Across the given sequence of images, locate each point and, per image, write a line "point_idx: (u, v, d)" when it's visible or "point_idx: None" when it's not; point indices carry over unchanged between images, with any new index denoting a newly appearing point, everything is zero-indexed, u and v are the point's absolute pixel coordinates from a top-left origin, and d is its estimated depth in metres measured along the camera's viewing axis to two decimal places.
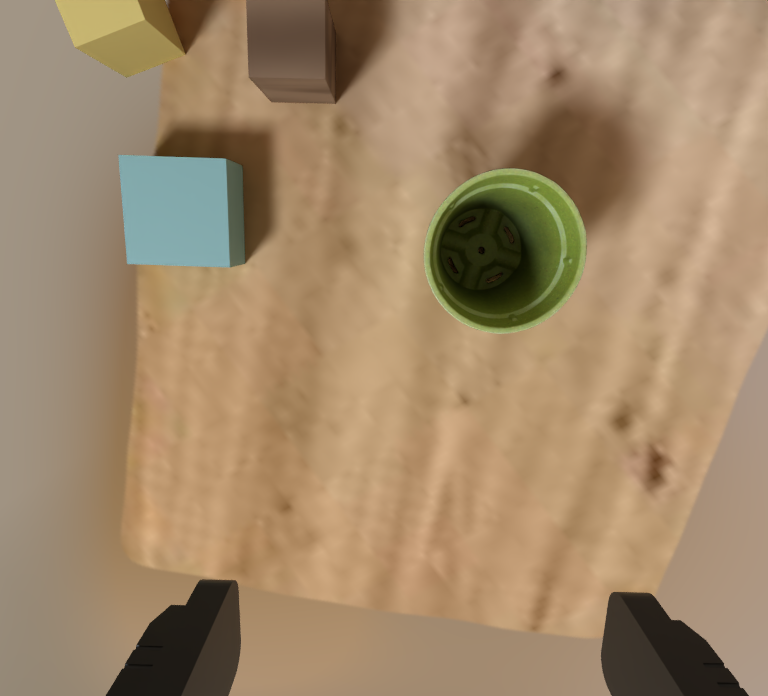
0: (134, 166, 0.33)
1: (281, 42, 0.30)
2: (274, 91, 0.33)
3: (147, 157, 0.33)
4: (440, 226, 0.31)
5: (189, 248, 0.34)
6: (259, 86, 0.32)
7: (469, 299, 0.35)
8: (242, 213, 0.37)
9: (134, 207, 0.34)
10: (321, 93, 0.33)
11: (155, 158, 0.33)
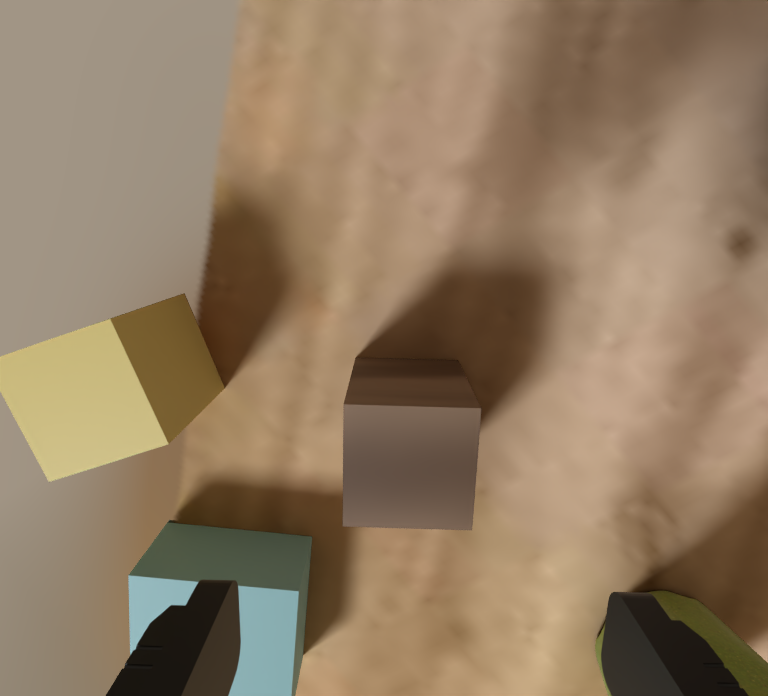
0: (152, 591, 0.21)
1: (400, 479, 0.17)
2: None
3: (174, 581, 0.21)
4: None
5: None
6: None
7: None
8: (306, 598, 0.25)
9: None
10: None
11: (187, 583, 0.21)
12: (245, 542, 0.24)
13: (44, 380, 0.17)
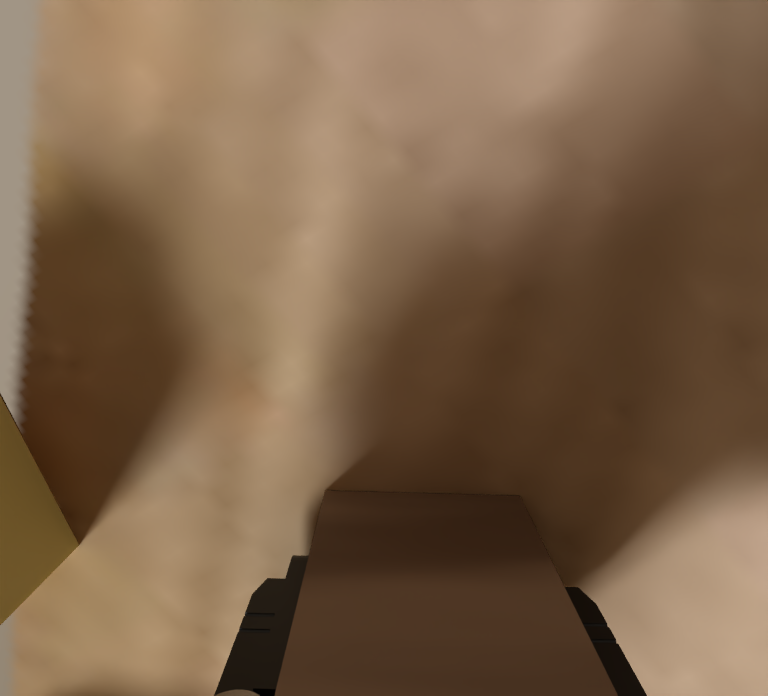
0: None
1: None
2: None
3: None
4: None
5: None
6: None
7: None
8: None
9: None
10: None
11: None
12: None
13: None
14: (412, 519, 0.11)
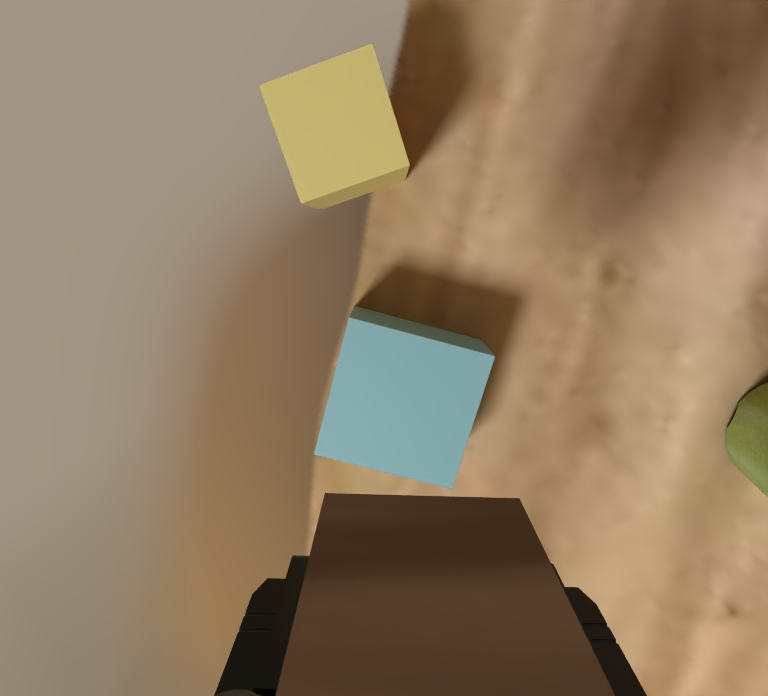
0: (366, 337, 0.24)
1: None
2: None
3: (388, 330, 0.23)
4: None
5: (405, 454, 0.25)
6: None
7: None
8: None
9: (347, 387, 0.24)
10: None
11: (398, 333, 0.23)
12: (429, 328, 0.26)
13: (308, 103, 0.19)
14: (412, 522, 0.11)
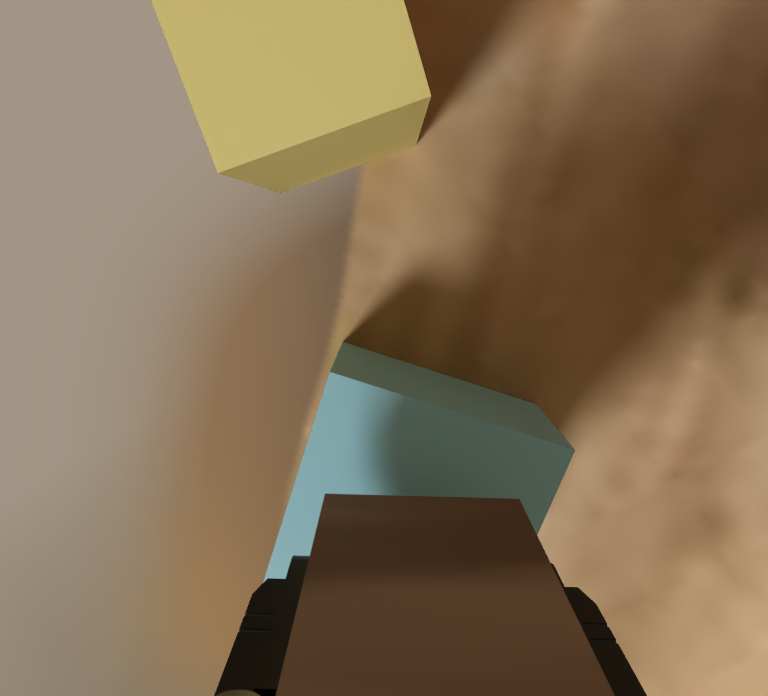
0: (357, 406, 0.14)
1: None
2: None
3: (396, 396, 0.14)
4: None
5: None
6: None
7: None
8: None
9: (322, 486, 0.14)
10: None
11: (413, 403, 0.14)
12: (458, 385, 0.17)
13: None
14: (412, 522, 0.11)
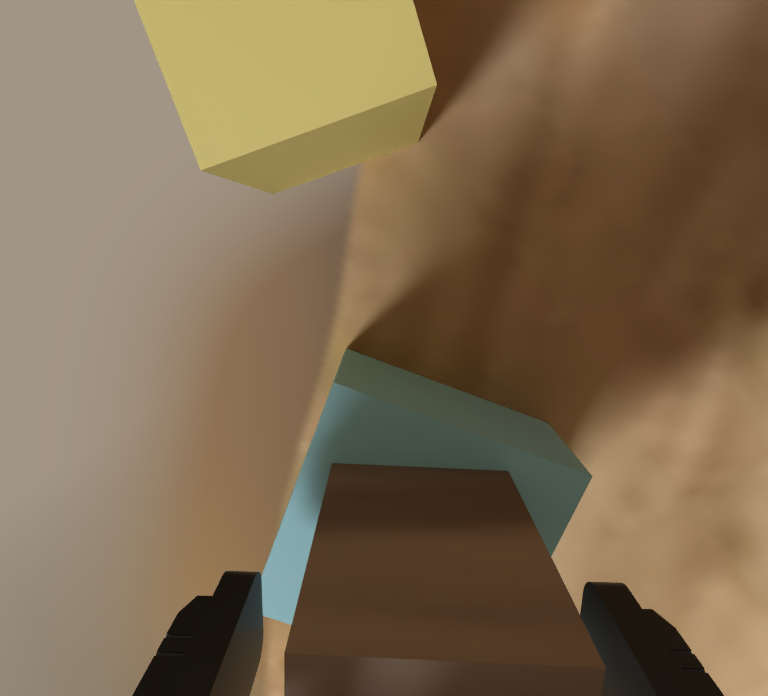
0: (362, 420, 0.13)
1: None
2: None
3: (404, 412, 0.13)
4: None
5: None
6: None
7: None
8: None
9: (319, 504, 0.13)
10: None
11: (422, 420, 0.13)
12: (467, 400, 0.16)
13: None
14: (411, 488, 0.12)
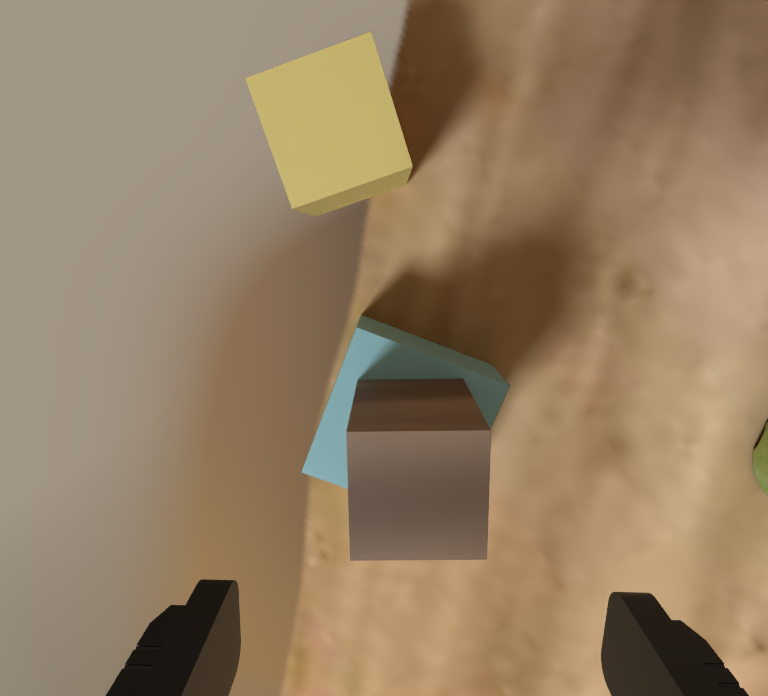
0: (373, 350, 0.21)
1: (409, 508, 0.16)
2: None
3: (397, 345, 0.21)
4: None
5: None
6: None
7: None
8: None
9: (346, 402, 0.22)
10: None
11: (408, 350, 0.21)
12: (439, 347, 0.24)
13: (300, 97, 0.17)
14: (404, 386, 0.21)
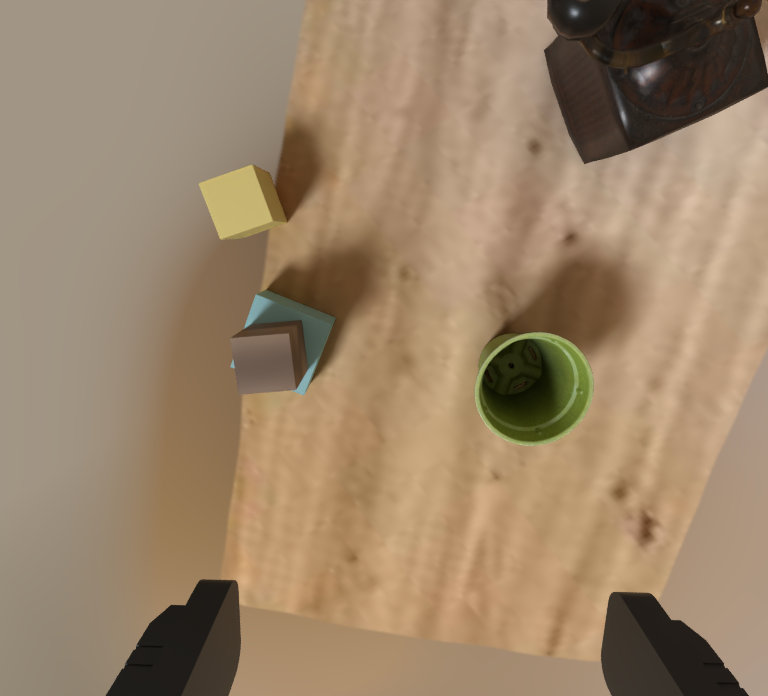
0: (264, 305, 0.44)
1: (260, 369, 0.39)
2: None
3: (276, 303, 0.44)
4: None
5: None
6: None
7: (504, 410, 0.46)
8: None
9: None
10: None
11: (281, 306, 0.44)
12: (305, 307, 0.47)
13: (222, 191, 0.40)
14: (270, 324, 0.43)
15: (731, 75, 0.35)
